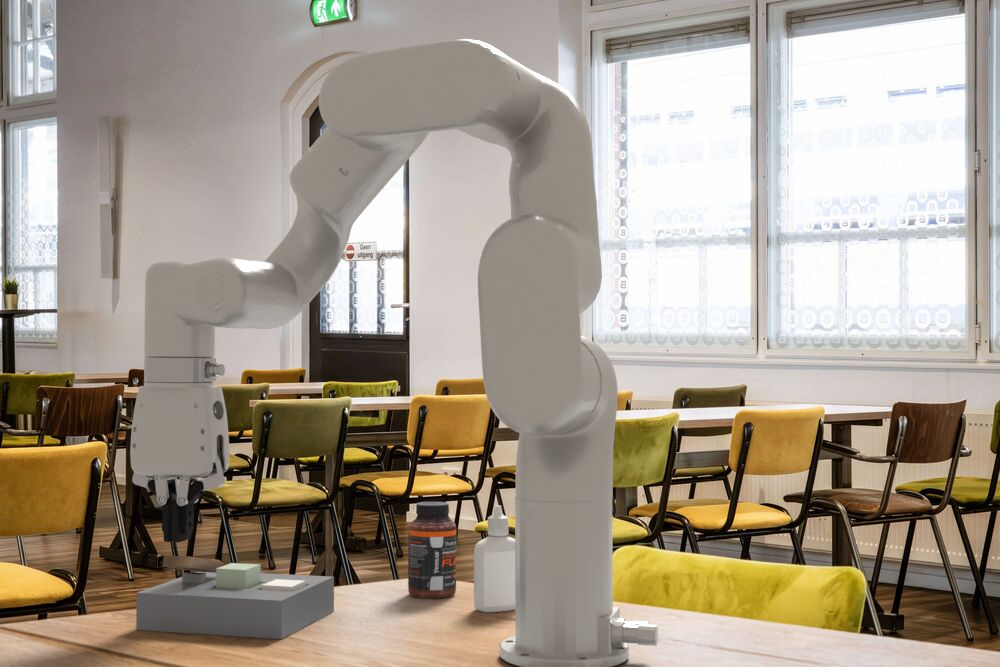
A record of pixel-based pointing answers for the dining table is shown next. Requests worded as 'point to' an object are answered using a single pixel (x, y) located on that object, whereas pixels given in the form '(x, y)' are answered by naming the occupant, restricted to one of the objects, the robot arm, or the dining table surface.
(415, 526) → the supplement bottle
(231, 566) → the sage button
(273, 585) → the white button
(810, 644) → the dining table surface
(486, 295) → the robot arm
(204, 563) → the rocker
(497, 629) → the dining table surface
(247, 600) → the console
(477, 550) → the eye dropper bottle
